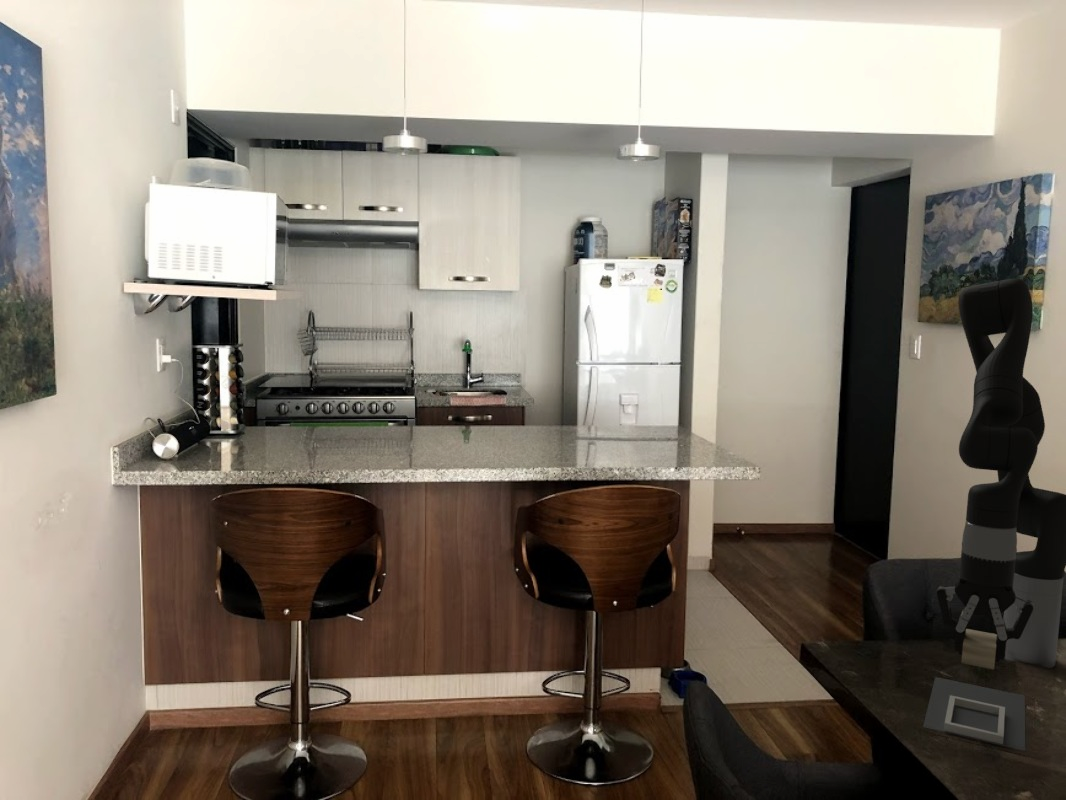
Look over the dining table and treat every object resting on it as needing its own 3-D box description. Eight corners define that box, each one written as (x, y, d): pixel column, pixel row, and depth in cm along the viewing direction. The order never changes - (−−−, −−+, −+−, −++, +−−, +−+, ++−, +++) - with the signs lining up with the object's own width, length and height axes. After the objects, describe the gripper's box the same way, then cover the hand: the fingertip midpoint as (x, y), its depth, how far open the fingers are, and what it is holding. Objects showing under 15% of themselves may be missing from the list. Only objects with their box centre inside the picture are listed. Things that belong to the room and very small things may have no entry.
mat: (934, 681, 155) (935, 676, 155) (1024, 700, 149) (1024, 695, 148) (922, 731, 136) (923, 726, 136) (1024, 756, 129) (1025, 751, 129)
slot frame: (949, 702, 145) (950, 695, 145) (1004, 714, 141) (1004, 707, 141) (943, 730, 135) (944, 723, 135) (1002, 744, 131) (1003, 736, 131)
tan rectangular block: (994, 669, 133) (995, 650, 132) (961, 662, 135) (963, 644, 134) (995, 652, 140) (997, 634, 139) (964, 646, 142) (966, 628, 141)
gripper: (936, 549, 136) (927, 655, 137) (1041, 565, 129) (1031, 676, 130) (940, 539, 142) (931, 640, 144) (1040, 554, 135) (1030, 659, 137)
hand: (979, 656), depth 137 cm, fingers closed on tan rectangular block, 4 cm apart
